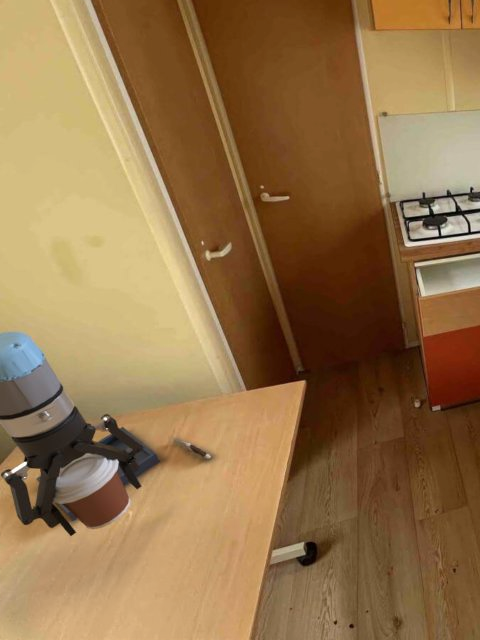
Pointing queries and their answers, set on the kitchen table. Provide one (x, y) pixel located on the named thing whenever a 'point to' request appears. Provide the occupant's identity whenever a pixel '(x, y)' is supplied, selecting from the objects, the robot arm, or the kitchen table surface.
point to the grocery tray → (143, 460)
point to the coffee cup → (92, 490)
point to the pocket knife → (194, 449)
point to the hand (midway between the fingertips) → (104, 506)
